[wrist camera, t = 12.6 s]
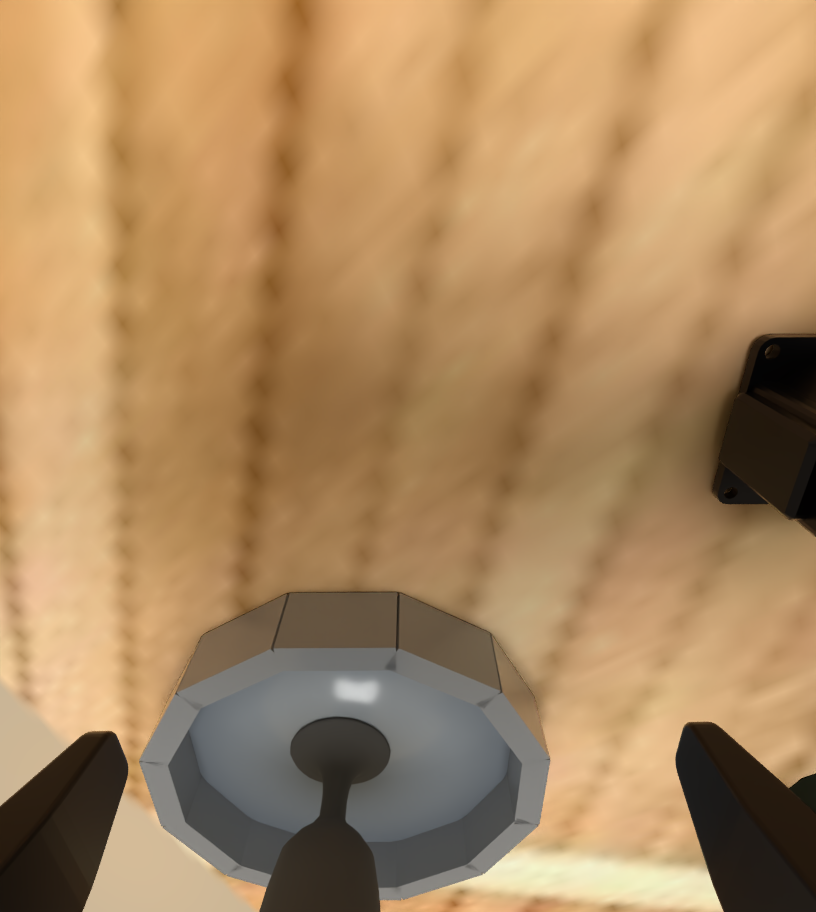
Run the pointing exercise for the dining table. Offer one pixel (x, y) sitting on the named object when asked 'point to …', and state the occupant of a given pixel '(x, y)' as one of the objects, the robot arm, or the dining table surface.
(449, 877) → the grey polygonal tray
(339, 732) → the sundae
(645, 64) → the dining table surface
